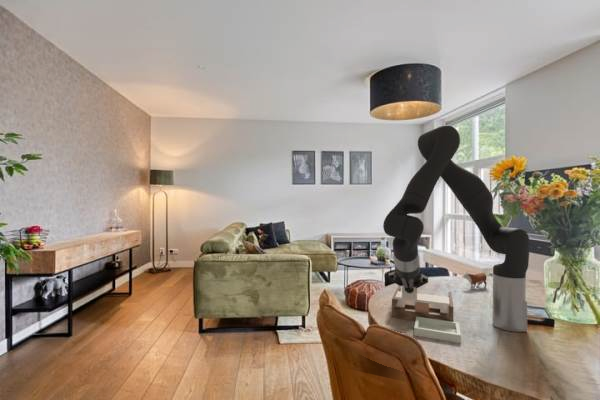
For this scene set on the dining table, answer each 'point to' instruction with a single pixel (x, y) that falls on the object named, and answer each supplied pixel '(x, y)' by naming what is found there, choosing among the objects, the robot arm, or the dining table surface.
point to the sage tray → (437, 329)
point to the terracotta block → (422, 307)
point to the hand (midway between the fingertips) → (409, 290)
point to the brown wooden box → (407, 311)
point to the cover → (422, 297)
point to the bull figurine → (475, 279)
